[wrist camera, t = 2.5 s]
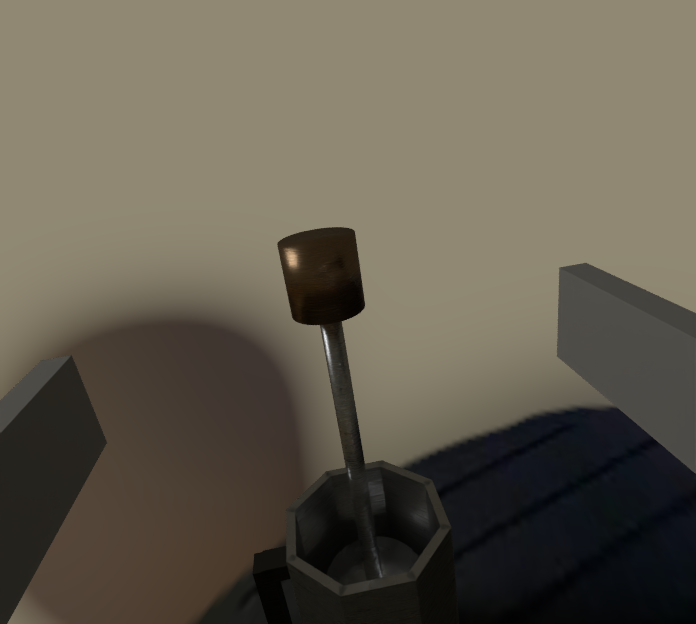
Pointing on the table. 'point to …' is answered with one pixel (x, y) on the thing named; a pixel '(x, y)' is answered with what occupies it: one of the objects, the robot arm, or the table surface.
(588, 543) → the table surface
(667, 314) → the robot arm
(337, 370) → the plunger
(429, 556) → the press pot
